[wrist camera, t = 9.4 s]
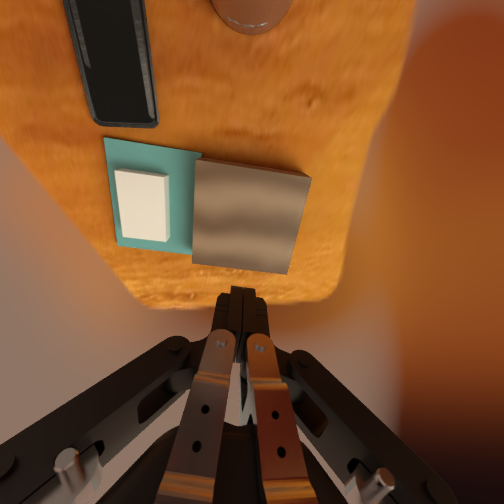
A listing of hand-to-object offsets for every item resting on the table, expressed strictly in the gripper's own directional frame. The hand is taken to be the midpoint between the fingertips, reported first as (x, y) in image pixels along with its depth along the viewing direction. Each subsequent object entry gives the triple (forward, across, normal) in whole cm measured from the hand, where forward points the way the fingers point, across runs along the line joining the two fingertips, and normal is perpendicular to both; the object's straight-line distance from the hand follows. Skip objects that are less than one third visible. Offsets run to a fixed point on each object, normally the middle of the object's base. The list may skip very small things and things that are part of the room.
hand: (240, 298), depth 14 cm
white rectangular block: (+19, +14, +2) cm, 24 cm away
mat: (+21, +12, +2) cm, 25 cm away
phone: (+22, +17, -15) cm, 31 cm away
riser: (+21, 0, +2) cm, 21 cm away
